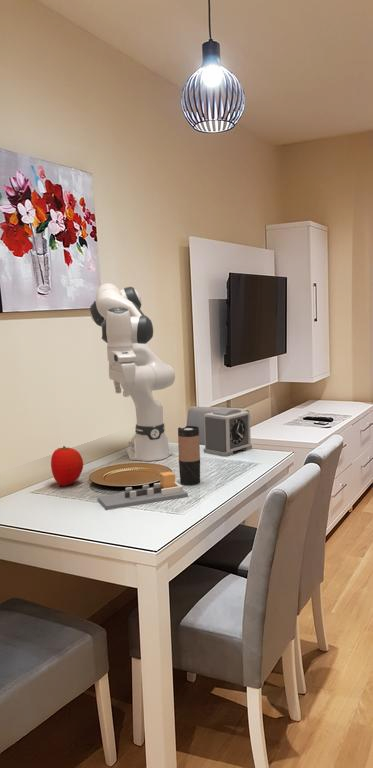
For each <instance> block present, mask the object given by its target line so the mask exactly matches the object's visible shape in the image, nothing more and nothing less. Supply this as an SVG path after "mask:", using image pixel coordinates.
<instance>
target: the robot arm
mask: <svg viewBox="0 0 373 768" xmlns="http://www.w3.org/2000/svg"><path fill="white" fill-rule="evenodd" d="M141 307H142V297H141V294H140V293H139V291H138V290H136V288H135V287H133V286H127V287H124V288H123V289H119V287H118V286H117V285H115V284H113V283H110V282H107V283H103V284H101V285H100V286H99V287H98V288H97V290H96V293H95V300H93V303H92V304H91V305H90V307H89V315H90V317H91V319H92V321H93V322H94V323H95V324H96V325H97V326H99V327H101V338H100V339H101V340H102V341H103V342H105V343H106V344H107V345H106V351H107V352H106V353H107V361H108V378H109V380H112V381H113V386H114V391H115V393H116V394H122V396H123V397H125V398H128V397H130V398H131V399H132V402H133V403H134V408H135V416H136V424H135V429H134V430H135V433H134V435H133V437H132V438H131V441H128V447H129V448H128V449H126V455H127V456H128V459H129V460H130V461H141V462H142V461H144V462H146V461H149V462H150V461H151V462H152V461H159V460H163V459H168V457H169V456H171V455H173V451H171V450H170V443H169V437H168V435H167V433H165V429H166V428H165V423H164V412H163V405H162V404H161V402H159V401H158V400H156V399H155V398H154V396H153V391H160V390H164V389H166V388H169V387H171V386H173V385H174V383H175V380H176V373H175V370H174V368H173V366H171V365H170V364H168V363H166V362H164V361H163V360H162V359H160V358H159V357H158V356H157V355H156V353H154V351H153V350H152V349H151V347H150V345H149V343H148V342H150V341H151V340H152V339H153V337H154V326H153V323H152V320H151V318H149V317H148V316H147V315H145V314H144V312H143V311H142V310H141ZM122 389H123V391H122Z"/></svg>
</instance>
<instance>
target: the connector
mask: <svg viewBox="0 0 373 768" xmlns="http://www.w3.org/2000/svg"><path fill="white" fill-rule="evenodd" d="M175 481H176V474H175V473H174V472H172V471H171V470H170V471H165V472H159V483H160V486H158V487H154V486H152V487H149V488H153V489H154V494H156V493H161V489H165V488H171V487H175ZM149 488H144V489H143V488H138V489H132V490H131V491H136V497H137V496H143V495H147V489H149ZM123 493H125V498H130V492H129V491H126V490H124V492H123Z"/></svg>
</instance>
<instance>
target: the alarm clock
mask: <svg viewBox="0 0 373 768" xmlns="http://www.w3.org/2000/svg"><path fill="white" fill-rule="evenodd" d="M203 417H204V418H203V419H204V420H203V421H204V425H203V427H204V448H203V453H204V454H208V455H213V456H218V457H223V458H224V457H225V458H227V457H228V458H229V457H232V456H233V455H234V452H236V451H238V450H241V451H246V452H247V451H251V450H252V449H253V446H252V441H251V411H245V410H241V409H235V408H229V407H221V408H218V409H216V410H214V411H213V412H208V413H204V415H203Z"/></svg>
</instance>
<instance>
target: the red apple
mask: <svg viewBox="0 0 373 768" xmlns="http://www.w3.org/2000/svg"><path fill="white" fill-rule="evenodd" d="M56 448H57V447H56ZM50 467H51V469H50V470H51V473H52V476H53V479H54V480H55V482H56V483H57V485H59V486H61V487H65V486H69V485H71V484H74V483H76V481H78V479H80V476H81V475H82V472H83V469H84V461H83V457H82V455H81V453H80V452H79V451H78V450H76V449H74V448H73V447H66V446H65V445H63V446H62V447H58V448H57V449H55V450H54V451H53V453H52V455H51V460H50Z"/></svg>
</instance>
